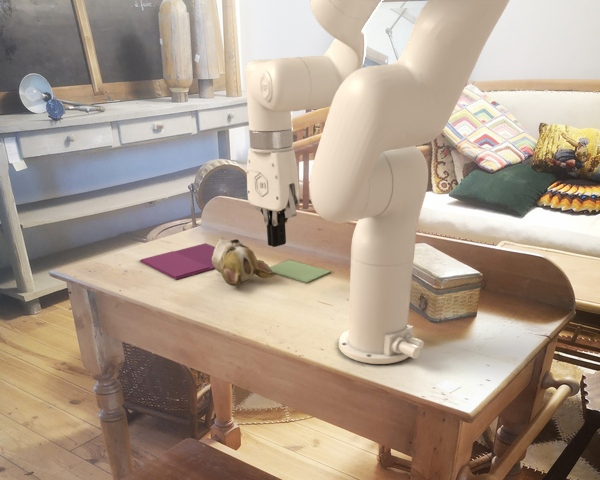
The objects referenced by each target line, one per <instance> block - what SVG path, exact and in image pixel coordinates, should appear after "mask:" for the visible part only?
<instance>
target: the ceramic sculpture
mask: <svg viewBox="0 0 600 480" xmlns="http://www.w3.org/2000/svg"><path fill="white" fill-rule="evenodd" d="M214 247H215V249H214V252H213V256H212V263H213V266H214V267H215V269H214V270H216V271H217V272H218V273H220V274H221V276H222V278H223V280H224V281H225V283H226V284H227V285H229V286H231V287H236V286H238V285H240V283H241V282H244V281H248V280H250V279H252V278H253V277H254V275H255V276H257V277H259V278H261V279H267V278H271V277H275V276H276V275H277V274H276V273H274V272H272V270H271V269H270V266H269V264H268V263H266V262H265V261H264V260H262V259H261V260H260V259H257V257H256V254H255V252H254V251H253V250H252V249H250V247H249V246H246V245H244V243H243V242H242V241H241V240H239V239H232V240H230V239H227V238H224V237H223V236H219V238H218V240H217V243H216V245H215V246H214Z"/></svg>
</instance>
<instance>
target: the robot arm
mask: <svg viewBox="0 0 600 480" xmlns="http://www.w3.org/2000/svg"><path fill="white" fill-rule="evenodd" d="M382 1H383V0H309V3H310V8H311V9H310V10H311V12H312V14H313V16H314V18H315V20H316V22H317V23H318V24H319V26H320V27H321V28H322V29H323V30H324V31H325V32H326V33H328V34H329V35H330V36H331V37H332V38H334V39H333V40H332V42H331V44H330V45H329V47H328V49H327V50H326V52H325V53H324V54H322V55H312V56H311V55H310V56H308V55H307V56H295V57H279V58H273V59H271V58H269V59H255V60H251V61H249V62H248V63H247V64H246V66H245V69H244V79H245V93H246V105H247V119H248V132H249V133H248V134H249V148H248V150H247V159H246V191H247V201H248V203H249V204H250V205H251V206H253V207H254V208H255V210H257V211H258V212H260V213H261V214H262V216H263V222H264V224H265V225H266V238H267V246H270V247H272V248H276V247H280V246H283V245H286V243H287V236H286V235H287V233H286V224H287V223H288V219H290V218H293V217H297V214H298V213H297V209H296V208H297V207H298V206H299V204H300V182H299V181H300V179H299V171H298V164H297V158H296V153H295V149H294V139H293V112H300V111H305V110H306V111H307V110H316V109H317V110H319V109H326V108H329V110H328V112H327V117H326V120H325V123H324V126H323V129H322V132H321V136H320V140H319V142H318V146H317V149H316V152H315V156H314V159H313V162H312V165H311V170H310V175H309V186H308V187H309V189H308V190H309V197H310V201H311V205H312V207H313V209H314V211H315V212H316V214H317V215H318V217H320V218H321V219H323V220H324V221H326V222H329V223H331V224H332V223H334V224H346V223H351V222H356V225H355V227H354V230H353V234H352V239H351V244H350V245H351V248H350V272H349V273H350V274H349V299H348V300H349V301H348V329H346V330H345V331H344V332H342V333H341V335H340V336H339V339H338V349H339V350H340V352H341V353H342V354H343V355H345V356H346V357H347V358H349V359H352V360H354V361H356V362H361V363H365V364H370V365H371V364H372V365H387V364H394V363H398V362H401V361H405V360H406V359H408V358H412V359H414V360H415V359H418V357H420V355H421V353H422V349H423V348H424V346H425V342H424V341H423V340H421V339H419V338H416V337H414V336H413V333H414V332H413V331H414V326H413V325H411V324H409V314H410V304H411V292H412V281H413V269H414V259H415V249H416V240H417V232H418V227H419V220H420V216H421V212H422V208H423V205H424V201H425V198H426V194H427V191H428V190H427V189H428V184H429V167H428V162H427V160H426V158H425V155H424V153H422V151H421V150H420V149H419V148H418V147H417V146H421V145H422V146H423V145H425V144H426V145H427V144H428V143H430V142H432V141H434V140H435V139H437V138H438V137H439V136H440V135H441V134H442V133H443V130H444V129H445V128H446V126H447V125H448V123H449V121H450V118H451V116H452V114H453V112H454V110H455V107H456V106H457V104H458V102H459V100H460V98H461V96H462V94H463V92H464V89H465V87H466V85H467V83H468V81H469V79H470V78H471V75H472V73H473V71H474V69H475V68H476V65H477V62H478V60H479V58H480V55H481V53H482V51H483V49H484V47H485V46H486V43H487V41H488V40H489V38H490V36H491V34H492V32H493V31H494V29H495V27H496V25H497V24H498V22H499V20H500V19H501V17H502V15H503V13H504V12H505V10H506V8H507V6H508V4H509V3H510V0H427V1H426V2H425V4H424V6H423V7H422V8H421V10H420V12H419V13H418V15H417V17H416V19H415V22H414V23H413V26H412V29H411V32H410V34H409V38H408V40H407V43H406V45H405V47H404V49H403V51H402V52H401V55H400V56H399V58H398V59H397V60H396V61H394V62H393V63H390V64H378V65H377V64H376V65H369V66H364V63H365V57H366V49H367V38H366V37H367V36H366V31H365V28H366V27H367V24H368V23H369V22H370V20H371V19H372V18H373V15H374V14H375V12H376V11H377V9H378V7H379V6H380V4H381V3H382ZM363 66H364V67H363Z"/></svg>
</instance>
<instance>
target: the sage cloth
mask: <svg viewBox="0 0 600 480" xmlns="http://www.w3.org/2000/svg"><path fill="white" fill-rule="evenodd" d="M269 268H270V269H271V270H272V272H274V273H276V275H279V276H282V277H285V278H289V279H292V280H296V281H298V282H302V283H306V284H308V283H311V282H312V281H314V280H318V279H319V278H321V277H323V276H326V275H328V274H330V273H331V270H327V269H324V268H322V267H321V268H320V267H317V266H313V265H309V264H306V263H302V262H299V261H295V260H292V259H287V260H285V261H283V262H280V263H277V264H275V265H273V266H269Z"/></svg>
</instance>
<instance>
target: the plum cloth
mask: <svg viewBox="0 0 600 480" xmlns="http://www.w3.org/2000/svg"><path fill="white" fill-rule="evenodd" d="M215 247H216V246H213V245H211V244H208V243H201V244H198V245H194V246H190V247H186V248H182V249H179V250H178V249H177V250H172V251H168V252H164V253H160V254H157V255H153V256H149V257H144V258H141V259H139V262H140V263H142V264H144V265H146V266H148V267H150V268H152V269H154V270H156V271H158V272H160V273H162V274H164V275H166V276H168V277H170V278H172V279H174V280H180V279H184V278H188V277H191V276H194V275H195V276H196V275H198V274H201V273H205V272H208V271H212V270H216V269H215V267H214V266H213V263H212V256H213V252H214V249H215Z"/></svg>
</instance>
